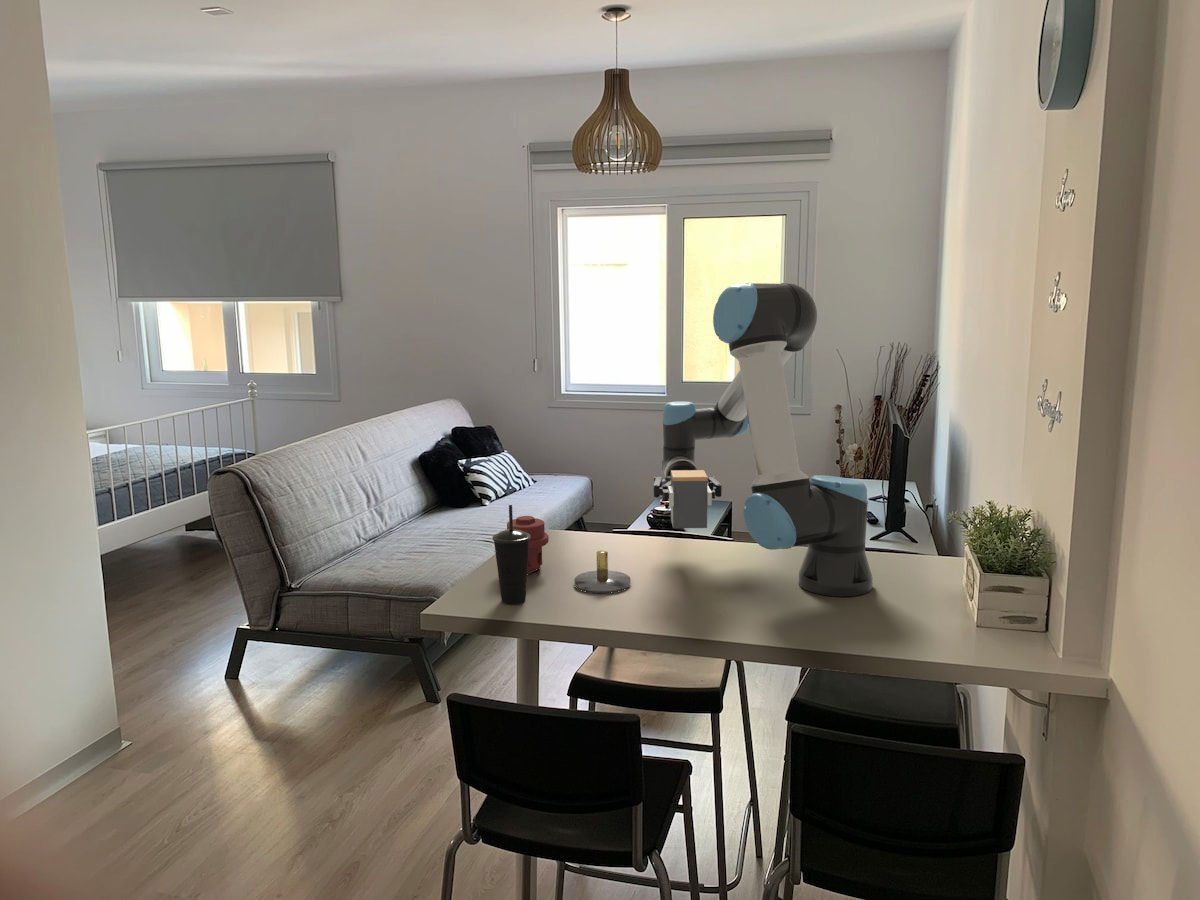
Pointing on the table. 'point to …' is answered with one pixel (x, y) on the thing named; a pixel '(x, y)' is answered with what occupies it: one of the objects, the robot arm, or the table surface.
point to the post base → (602, 585)
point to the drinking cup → (512, 562)
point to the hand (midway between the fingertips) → (690, 499)
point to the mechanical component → (532, 539)
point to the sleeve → (689, 499)
